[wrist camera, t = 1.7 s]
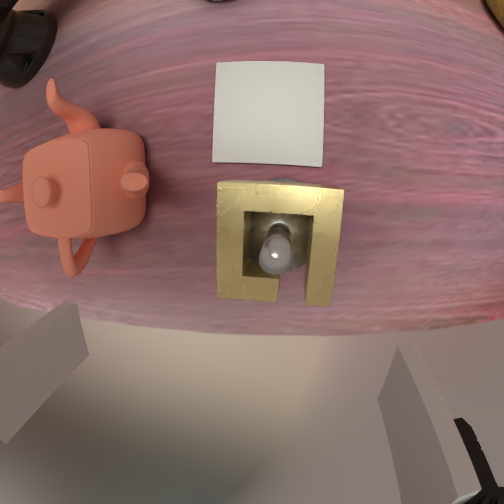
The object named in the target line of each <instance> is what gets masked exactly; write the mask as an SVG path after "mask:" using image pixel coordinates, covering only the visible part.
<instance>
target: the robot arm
mask: <svg viewBox="0 0 504 504" xmlns="http://www.w3.org/2000/svg"><path fill="white" fill-rule="evenodd" d="M18 1H19V0H0V84H1V85H3V86H5V87H12V88H18V87H21V86H23V85H24V84H26V83H27V82H28V81H29V80H30V79H31V78H32V77H33V76H34V75H35V74H36V73H37V71H38V70H39V69H40V67H41V66H42V64H43V63H44V61H45V59H46V57H47V55H48V53H49V51H50V49H51V47H52V44H53V41H54V38H55V35H56V29H57V21H56V18H55V16H54V15H53V14H52V13H49V12H47V11H44V10H23V11H15V10H12V8H13V7H14V6H15V4H16V3H17V2H18ZM88 355H89V353H88V349H87V345H86V342H85V338H84V334H83V330H82V326H81V321H80V316H79V312H78V307H77V304H74V303H71V302H67V301H65V302H63V303H62V304H60V305H59V306H57V307H56V308H54V309H53V310H52V311H50V312H49V313H47V314H46V315H44V316H43V317H42V318H40V319H39V320H37V321H36V322H35V323H34V324H32V325H31V326H29V327H28V328H26V329H25V330H24V331H22V332H21V333H20V334H18V335H17V336H16V337H14V338H13V339H12V340H10V341H9V342H8V343H6V344H5V345H4V346H2V347H1V348H0V440H2V441H3V442H4V443H5V444H7V443H8V441H9V440H10V439H11V438H12V437H13V436H14V435H15V433H16V432H17V431H18V430H19V429H20V428H21V427H22V426H23V425H24V423H25V422H26V421H27V420H28V419H29V418H30V417H31V416H32V415H33V413H34V412H35V411H36V410H37V409H38V408H39V407H40V406H41V405H42V404H43V403H44V401H45V400H46V399H47V398H48V397H49V396H50V395H51V394H52V393H53V392H54V391H55V389H57V388H58V387H59V385H60V384H61V383H62V382H63V381H64V380H65V379H66V378H67V377H68V376H69V375H70V374H71V373H72V372H73V371H74V369H76V368H77V367H78V366H79V365H80V364H81V363H82V362H83V361H84V360H85V359H86V357H87V356H88ZM378 402H379V406H380V409H381V413H382V417H383V421H384V424H385V429H386V433H387V437H388V441H389V445H390V449H391V454H392V458H393V463H394V467H395V472H396V477H397V482H398V487H399V492H400V498H401V503H402V504H504V487H498V485H497V483H496V482H495V479H494V477H493V474H492V471H491V469H490V467H489V464H488V462H487V460H486V457H485V455H484V453H483V451H481V446H480V444H479V442H478V441H477V437H476V435H475V433H474V431H473V429H472V427H471V426H470V425H469V424H468V423H467V422H466V421H465V420H464V419H463V418H457V419H453V418H452V416H451V414H450V412H449V410H448V408H447V406H446V404H445V401H444V399H443V397H442V396H441V393H440V391H439V390H438V387H437V386H436V384H435V382H434V380H433V378H432V376H431V374H430V372H429V370H428V369H427V367H426V365H425V363H424V361H423V359H422V358H421V356H420V354H419V352H418V350H417V349H416V347H415V346H397V349H396V353H395V355H394V358H393V361H392V363H391V366H390V369H389V371H388V374H387V377H386V379H385V382H384V384H383V387H382V389H381V391H380V394H379V396H378Z"/></svg>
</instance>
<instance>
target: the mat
mask: <svg viewBox="0 0 504 504" xmlns="http://www.w3.org/2000/svg"><path fill="white" fill-rule="evenodd" d="M323 130H324V64H315V63H302V62H280V61H241V62H219V63H217V67H216V83H215V102H214V125H213V154H212V162H234V163H265V164H285V165H301V166H314V167H322V156H323Z"/></svg>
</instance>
